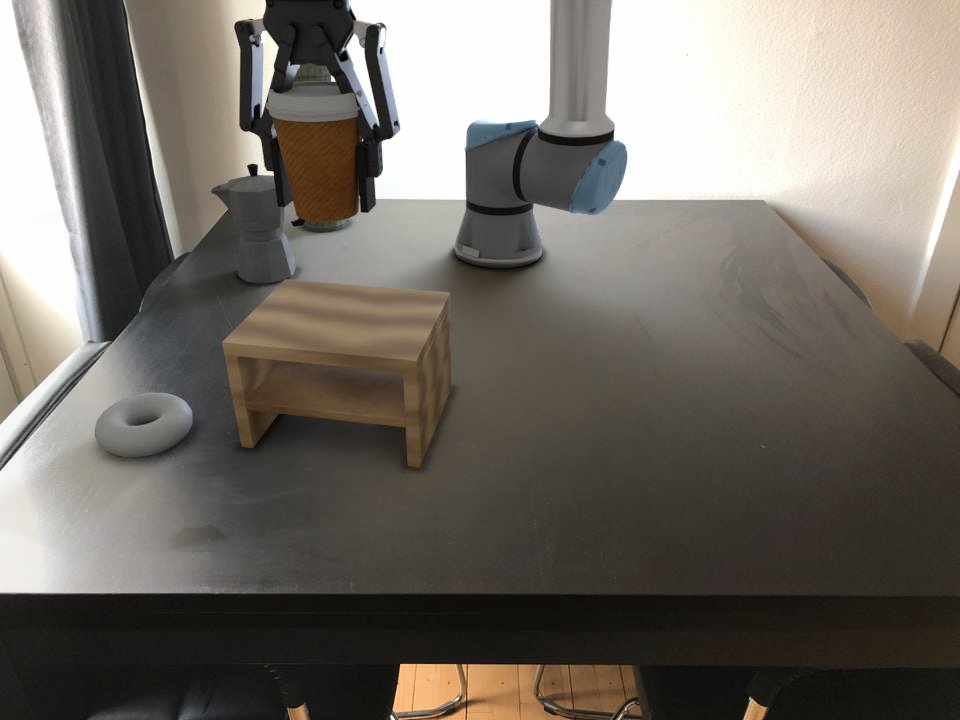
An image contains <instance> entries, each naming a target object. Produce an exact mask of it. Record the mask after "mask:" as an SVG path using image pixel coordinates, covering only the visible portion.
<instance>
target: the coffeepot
mask: <svg viewBox="0 0 960 720" xmlns="http://www.w3.org/2000/svg"><path fill="white" fill-rule="evenodd" d="M246 166H247V170H248V173H249V175H246V176H245V175H244V176H241V177H237V178H233V179H232V178H231V179H229V180H228V181H227V182H225V183H223V184H219V185H216V186H214V187H212V188H211V190H210V193H211V194H212V195H215V196H217V198H218V199H220V201H221V202H222V203H223V204H224V206H225V207H226V208H227V210H229V211H230V213H231V215H232V216H231V217H232V219H233V221H234V225H235V227H236V228H237V229H239V233H240V234H239V235H240V237H239V239H238V270H237V271H238V273H237V275H238V277H239V278H240V279H242V280H243V281H245V282H247V283H250V284H255V285H256V284H258V285H268V284H275V283H281V282H283V281H284V280H285V279H290V278H291V277H292V276H293V275H294V274H295V271H296V269H297V266H296V263H295V259H294V256H293V253H292V249H291V247H290V244H289V240H288V236H287V234H286V233H285V232H284V227H283V225H284V223H285V220H286V219H285V218H286V207H278V205H277V197H276V189H275V181H274V175H270V174H269V175H267V174H259V173H258V172H259V164H257V163H250V164H247V165H246ZM305 222H306V220H304V219H301V218H299V217H297V219H295V220H291V221H290V223H291V225H292V226H293V227H302V225H304V224H305Z"/></svg>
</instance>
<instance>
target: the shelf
mask: <svg viewBox="0 0 960 720" xmlns="http://www.w3.org/2000/svg"><path fill="white" fill-rule="evenodd" d="M451 334H452V333H451V292H447V291H434V290H423V289H421V290H420V289H409V288H397V287H386V286H385V287H384V286H372V285H361V284H348V283H336V282H323V281H313V280H312V281H311V280H299V279H290V278H288V279H285V280H283V281H281V282H280V283H279V285H278V286H276V288H275V289H274V290H273V291H272V292H270V294H268V295H267V296H266V297H265V298H264V299H263V301H261V303H259V304H258V305H257V306H256V307H255V308H254V309H253V310H252V312H250V313H249V315H247V316H246V318H245V319H243V321H241V323H240V324H239V325H237V326H236V327H235V328H234V329H233V330H232V332H231V333H229V335H228V336H227V337H225V338H224V340H222V342H221V344H222V350H223V355H224V359H225V365H226V366H225V367H226V371H227V376H228V382H229V387H230V392H231V398H232V404H233V409H234V414H235V419H236V425H237V431H238V436H239V441H240V446H241V448H248V449H254V448H255V446H256V445H257V444H258V443H259V441H260V440H261V439H262V437H263V436H264V434H265V433H266V432H267V430H268V429H269V428H270V426H271V425H272V424H273V422H274V421H275V420H276V418H277V416H278V415H279V414H280V415H290V416H298V417H307V418H315V419H316V418H317V419H324V420H325V419H326V420H333V421H334V420H335V421H344V422H354V423H362V424H372V425H381V426H390V427H397V428H398V427H399V428H405V443H406V463H407V467H409V468H416V469H417V468H419V469H420V468H421V467H422V465H423V462H424V459H425V456H426V454H427V451H428V449H429V446H430V444H431V441H432V438H433V436H434V434H435V431H436V428H437V425H438V423H439V421H440V418H441V416H442V413H443V411H444V408H445V406H446V403H447V401H448V397H449V395H450V392H451V389H452V350H451V349H452V348H451V347H452V346H451V345H452V344H451V343H452V342H451V340H452V339H451V336H452V335H451Z"/></svg>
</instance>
